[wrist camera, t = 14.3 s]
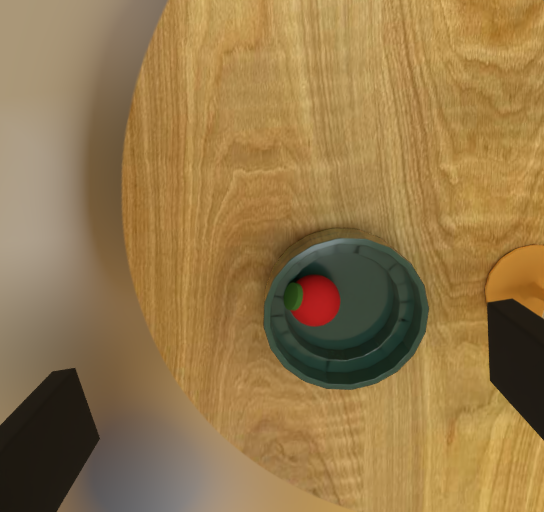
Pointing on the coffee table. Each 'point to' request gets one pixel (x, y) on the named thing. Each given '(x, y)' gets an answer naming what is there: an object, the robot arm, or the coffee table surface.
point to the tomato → (312, 300)
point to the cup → (519, 278)
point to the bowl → (348, 310)
